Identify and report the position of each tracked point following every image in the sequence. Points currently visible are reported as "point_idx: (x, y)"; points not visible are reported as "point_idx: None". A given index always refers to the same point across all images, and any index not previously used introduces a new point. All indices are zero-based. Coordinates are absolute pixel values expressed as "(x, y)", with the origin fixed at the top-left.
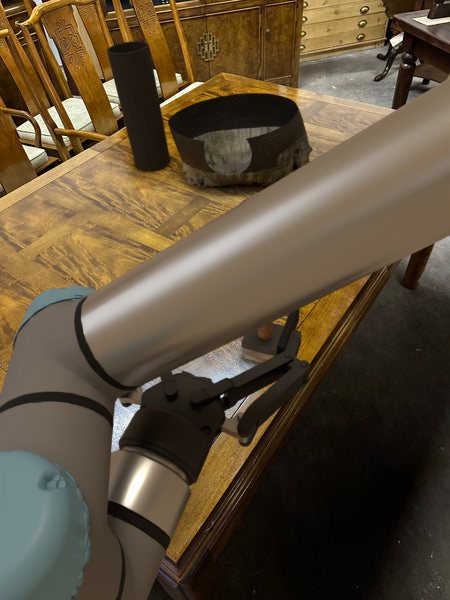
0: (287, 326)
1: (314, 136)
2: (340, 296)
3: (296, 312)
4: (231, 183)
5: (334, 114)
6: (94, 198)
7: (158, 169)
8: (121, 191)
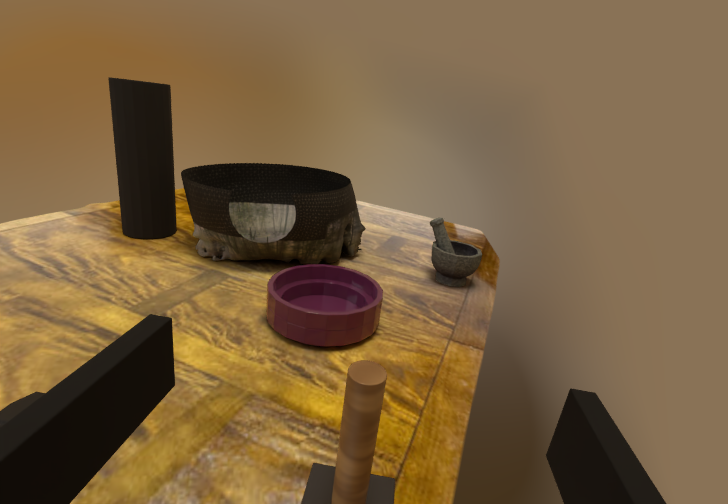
0: (643, 497)
1: None
2: (451, 412)
3: (617, 427)
4: (262, 256)
5: (373, 214)
6: (35, 261)
7: (156, 238)
8: (88, 256)
